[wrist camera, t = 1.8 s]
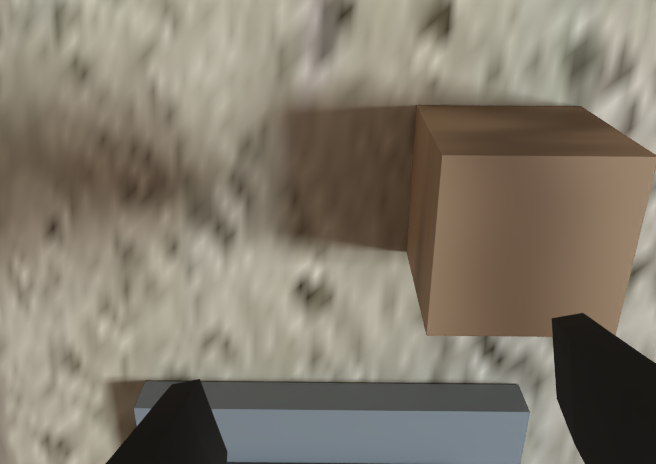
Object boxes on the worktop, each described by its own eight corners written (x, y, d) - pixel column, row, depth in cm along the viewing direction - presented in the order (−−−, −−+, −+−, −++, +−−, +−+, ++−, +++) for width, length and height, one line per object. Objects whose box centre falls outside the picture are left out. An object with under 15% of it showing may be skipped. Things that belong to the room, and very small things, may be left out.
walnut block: (580, 105, 19) (658, 156, 14) (553, 252, 21) (615, 337, 16) (416, 104, 19) (442, 155, 14) (406, 250, 21) (426, 335, 16)
